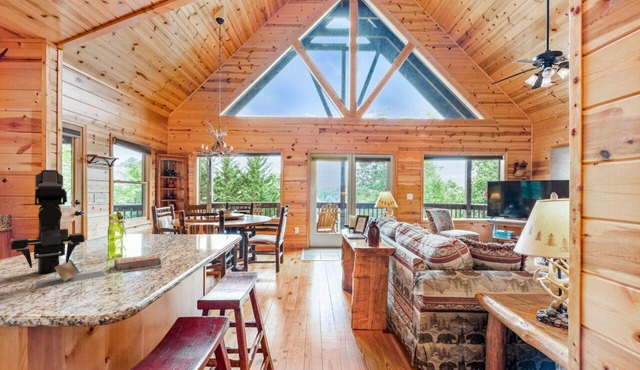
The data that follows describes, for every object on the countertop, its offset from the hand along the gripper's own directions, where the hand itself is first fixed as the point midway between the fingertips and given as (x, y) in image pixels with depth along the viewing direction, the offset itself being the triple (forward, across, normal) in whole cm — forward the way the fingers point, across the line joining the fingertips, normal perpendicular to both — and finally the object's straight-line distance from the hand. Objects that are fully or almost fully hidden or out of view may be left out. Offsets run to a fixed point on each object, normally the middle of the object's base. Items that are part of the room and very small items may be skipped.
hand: (49, 265), depth 103 cm
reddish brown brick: (+7, +27, +2) cm, 28 cm away
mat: (+6, +6, 0) cm, 9 cm away
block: (+4, +3, 0) cm, 5 cm away
